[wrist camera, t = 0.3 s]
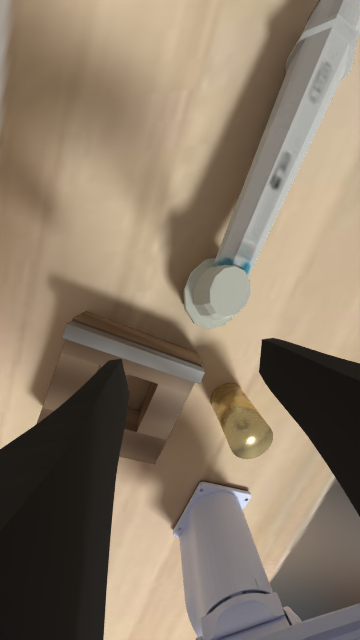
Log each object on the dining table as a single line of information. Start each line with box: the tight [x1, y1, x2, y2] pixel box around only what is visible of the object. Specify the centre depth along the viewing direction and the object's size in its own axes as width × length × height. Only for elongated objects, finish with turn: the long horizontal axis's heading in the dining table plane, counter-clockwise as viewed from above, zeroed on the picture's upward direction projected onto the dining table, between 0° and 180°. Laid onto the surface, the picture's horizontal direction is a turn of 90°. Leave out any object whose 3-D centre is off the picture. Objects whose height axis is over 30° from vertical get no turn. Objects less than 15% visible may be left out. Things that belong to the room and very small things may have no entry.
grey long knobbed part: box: [183, 0, 360, 329], centre depth 16 cm, size 5×7×25 cm
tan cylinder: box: [211, 384, 273, 459], centre depth 20 cm, size 4×4×6 cm
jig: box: [37, 311, 205, 464], centre depth 19 cm, size 12×12×4 cm
